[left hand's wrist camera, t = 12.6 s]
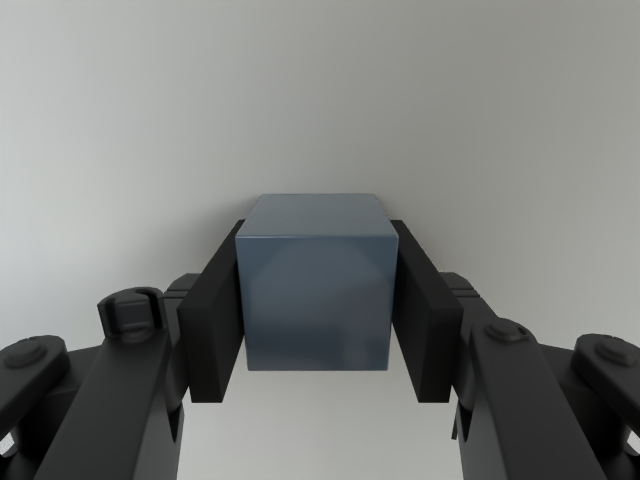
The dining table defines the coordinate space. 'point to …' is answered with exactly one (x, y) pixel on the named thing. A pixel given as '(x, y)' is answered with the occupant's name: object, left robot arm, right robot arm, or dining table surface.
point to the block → (317, 282)
